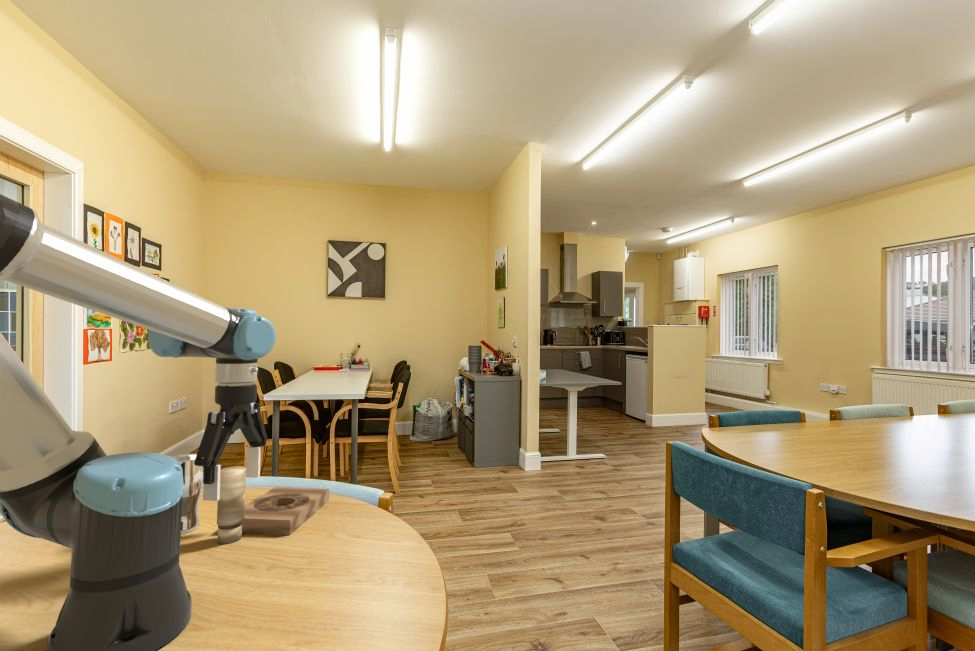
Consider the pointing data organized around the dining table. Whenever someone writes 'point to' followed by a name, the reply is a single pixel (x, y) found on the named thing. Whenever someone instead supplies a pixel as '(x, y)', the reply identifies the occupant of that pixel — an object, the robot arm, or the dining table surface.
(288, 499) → the board
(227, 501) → the peg
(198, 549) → the dining table surface
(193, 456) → the metal cup
